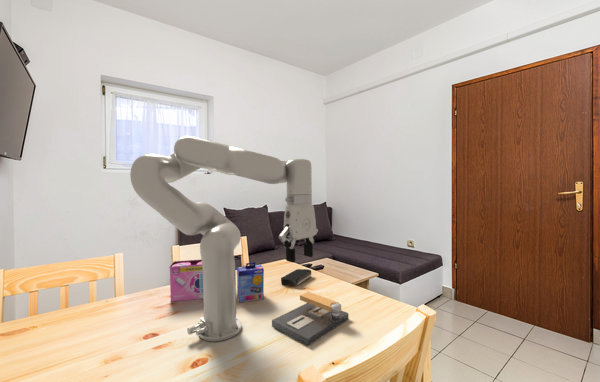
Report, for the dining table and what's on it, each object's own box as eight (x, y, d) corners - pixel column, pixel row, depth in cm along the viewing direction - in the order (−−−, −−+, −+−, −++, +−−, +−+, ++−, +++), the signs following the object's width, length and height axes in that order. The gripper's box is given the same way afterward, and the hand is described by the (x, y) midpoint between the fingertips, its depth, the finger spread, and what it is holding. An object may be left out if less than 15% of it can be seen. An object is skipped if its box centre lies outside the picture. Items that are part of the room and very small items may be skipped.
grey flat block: (307, 346, 75) (307, 331, 75) (271, 326, 85) (271, 313, 85) (348, 319, 89) (348, 307, 89) (313, 305, 99) (313, 294, 99)
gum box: (234, 288, 116) (234, 256, 116) (234, 295, 109) (234, 262, 108) (174, 294, 111) (173, 261, 110) (169, 302, 103) (169, 266, 103)
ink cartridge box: (238, 303, 102) (238, 264, 101) (236, 297, 107) (236, 261, 106) (264, 299, 105) (264, 262, 105) (261, 293, 110) (260, 258, 110)
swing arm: (336, 314, 84) (336, 309, 84) (299, 299, 94) (299, 295, 94) (344, 309, 87) (344, 304, 87) (308, 296, 97) (308, 291, 97)
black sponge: (295, 288, 116) (295, 280, 116) (279, 285, 120) (279, 277, 120) (312, 277, 130) (312, 269, 130) (297, 274, 134) (297, 267, 134)
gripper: (287, 202, 73) (287, 268, 74) (326, 199, 86) (327, 255, 87) (269, 201, 79) (269, 262, 79) (309, 198, 91) (309, 251, 92)
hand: (299, 258), depth 83 cm, fingers open, 7 cm apart
